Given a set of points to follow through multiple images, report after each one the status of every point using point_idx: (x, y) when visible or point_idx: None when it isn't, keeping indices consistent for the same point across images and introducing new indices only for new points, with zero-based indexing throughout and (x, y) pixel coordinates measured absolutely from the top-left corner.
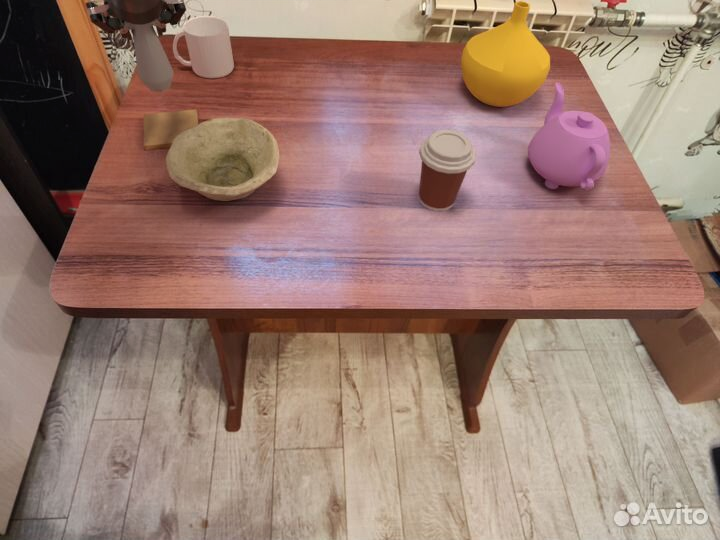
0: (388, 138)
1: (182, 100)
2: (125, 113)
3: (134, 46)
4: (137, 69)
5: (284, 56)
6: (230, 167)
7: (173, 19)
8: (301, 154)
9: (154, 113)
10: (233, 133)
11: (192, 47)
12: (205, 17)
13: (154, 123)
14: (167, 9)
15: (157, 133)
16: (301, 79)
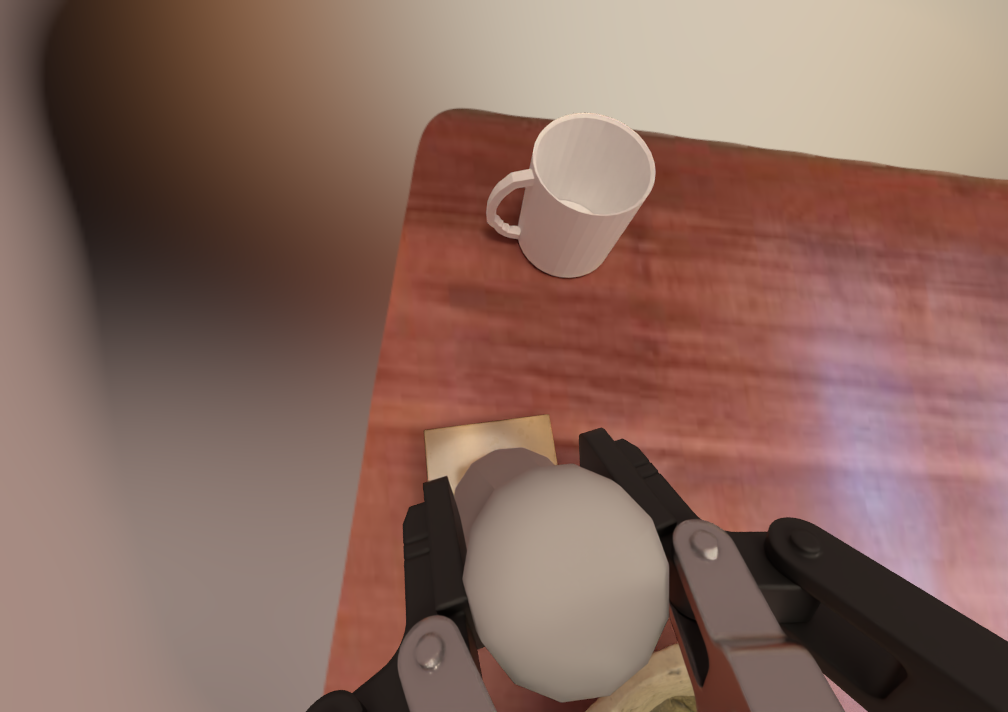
0: (983, 537)
1: (505, 359)
2: (375, 405)
3: (467, 536)
4: None
5: (709, 204)
6: (668, 698)
7: (848, 688)
8: None
9: (449, 427)
10: None
11: (548, 224)
12: (585, 118)
13: (453, 472)
14: (808, 586)
15: None
16: (758, 293)
